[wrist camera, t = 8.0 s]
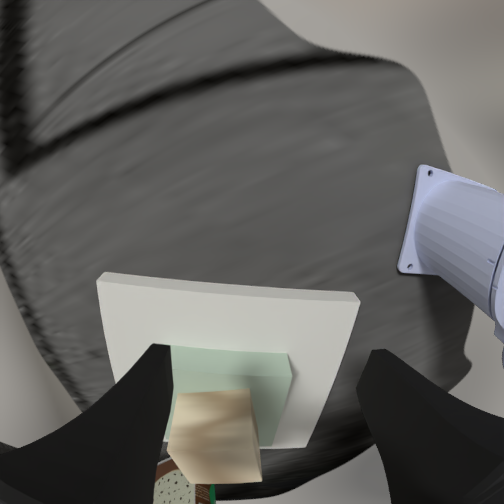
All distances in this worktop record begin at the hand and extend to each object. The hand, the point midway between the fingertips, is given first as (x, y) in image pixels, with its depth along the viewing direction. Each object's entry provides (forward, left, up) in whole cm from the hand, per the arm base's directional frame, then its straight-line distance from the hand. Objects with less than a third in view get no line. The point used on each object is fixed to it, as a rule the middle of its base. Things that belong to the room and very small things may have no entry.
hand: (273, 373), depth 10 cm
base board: (+2, +11, -10) cm, 15 cm away
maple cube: (+2, +10, -6) cm, 12 cm away
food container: (+5, +28, -11) cm, 30 cm away
